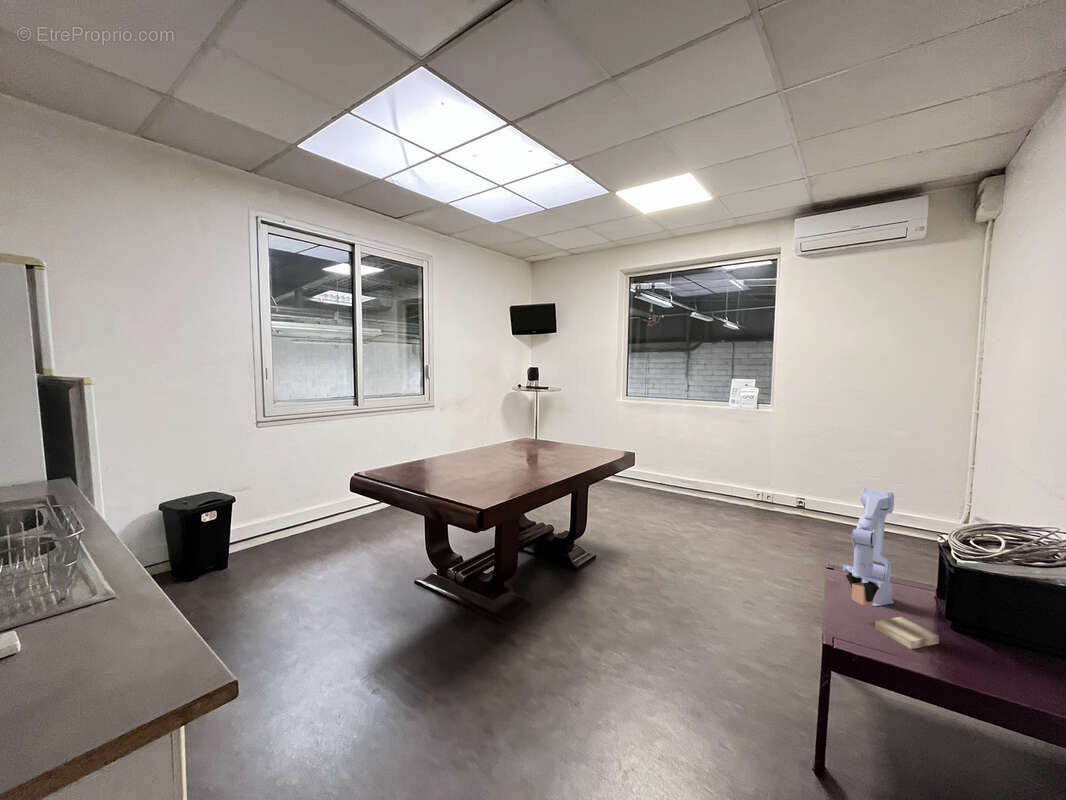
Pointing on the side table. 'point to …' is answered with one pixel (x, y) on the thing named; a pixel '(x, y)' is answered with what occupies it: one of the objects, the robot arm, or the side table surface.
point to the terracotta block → (860, 594)
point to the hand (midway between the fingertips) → (862, 597)
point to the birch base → (906, 632)
